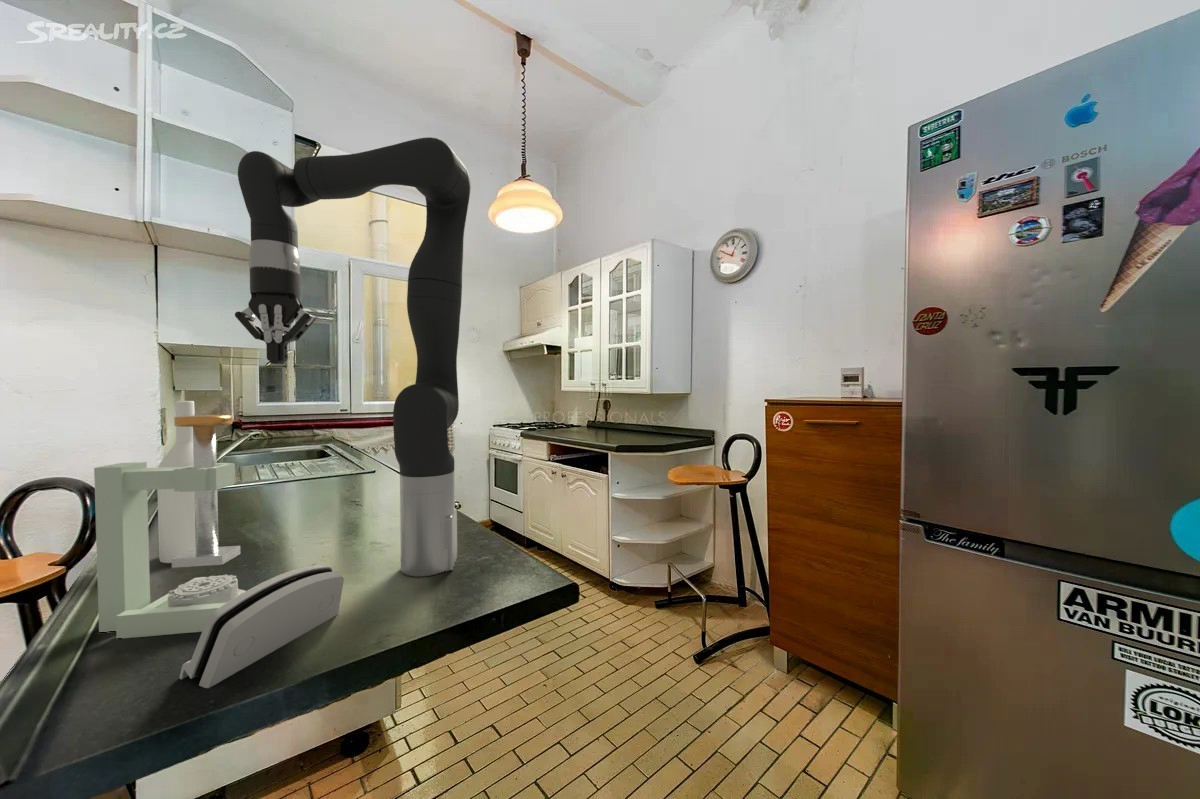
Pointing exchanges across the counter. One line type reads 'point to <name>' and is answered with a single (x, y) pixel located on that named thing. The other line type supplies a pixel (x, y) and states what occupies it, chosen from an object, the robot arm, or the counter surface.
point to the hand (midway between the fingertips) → (277, 363)
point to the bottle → (177, 496)
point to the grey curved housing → (263, 621)
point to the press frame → (142, 547)
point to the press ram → (205, 496)
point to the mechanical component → (205, 591)
